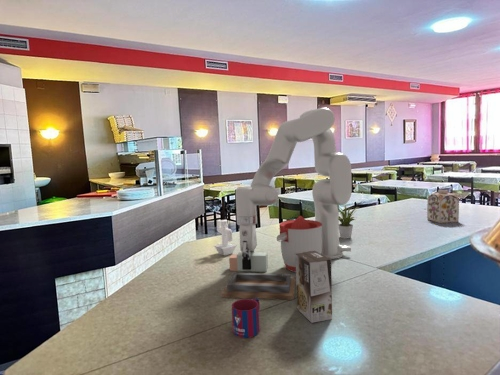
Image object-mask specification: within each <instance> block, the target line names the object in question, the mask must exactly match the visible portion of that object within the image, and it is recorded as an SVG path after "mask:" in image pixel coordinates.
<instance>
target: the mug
mask: <svg viewBox="0 0 500 375" xmlns="http://www.w3.org/2000/svg"><path fill="white" fill-rule="evenodd" d="M231 321H232V322H231V323H232V333H233V335H235V337H238V338H242V339H243V338H244V339H247V338H252V337H253V338H254V337H255V336H256V335H259V333H260V328H261V327H260V326H261V325H260V298H240V299H238V300H235V301H233V302H232V304H231Z"/></svg>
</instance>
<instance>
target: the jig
mask: <svg viewBox="0 0 500 375" xmlns="http://www.w3.org/2000/svg"><path fill="white" fill-rule="evenodd" d="M295 287H296V277H292V274H291V273H288V274H287V273H255V272H253V273H250V272H234V273H233V274H232V276H231V277H230V279H229V280H228V281H227V284H226V286H225V287H224V289H223V290H222V292H221V298H235V299H236V298H238V299H239V298H240V299H253V298H258V299H260V300H261V299H267V300H289V301H290V300H291V301H292V300H294V297H295V289H296V288H295Z"/></svg>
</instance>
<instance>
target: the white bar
mask: <svg viewBox="0 0 500 375" xmlns="http://www.w3.org/2000/svg"><path fill="white" fill-rule="evenodd" d="M246 254H248V253H246ZM228 258H229V259H228V261H229V262H228V263H229V271H232V272H235V271H236V272H237V271H238V272H267V271H268V270H269V269H268V268H269V264H268V263H269V261H268V258H269V257H268V252H265V251H264V252H261V251H258V252H257V251H256V252H255V251H254V252H250V259H251V270H243V269H242V251H239V252H238V253H237V254H230V256H229V257H228Z"/></svg>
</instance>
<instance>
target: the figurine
mask: <svg viewBox="0 0 500 375" xmlns="http://www.w3.org/2000/svg"><path fill="white" fill-rule="evenodd" d="M216 230H217V232H218V233H219V234H221V243H219V244H218V243H217V244H215V245H213V247H214V248H215V249H216V251H217V252H218V254H219V255H222V256H227V255H233V253H234V251H235V249H236V248H237V244H234V243H231V242H233V230H232V229H231V228H229V224H228V220H227V219H221V220H220V219H218V220H217V221H216Z"/></svg>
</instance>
